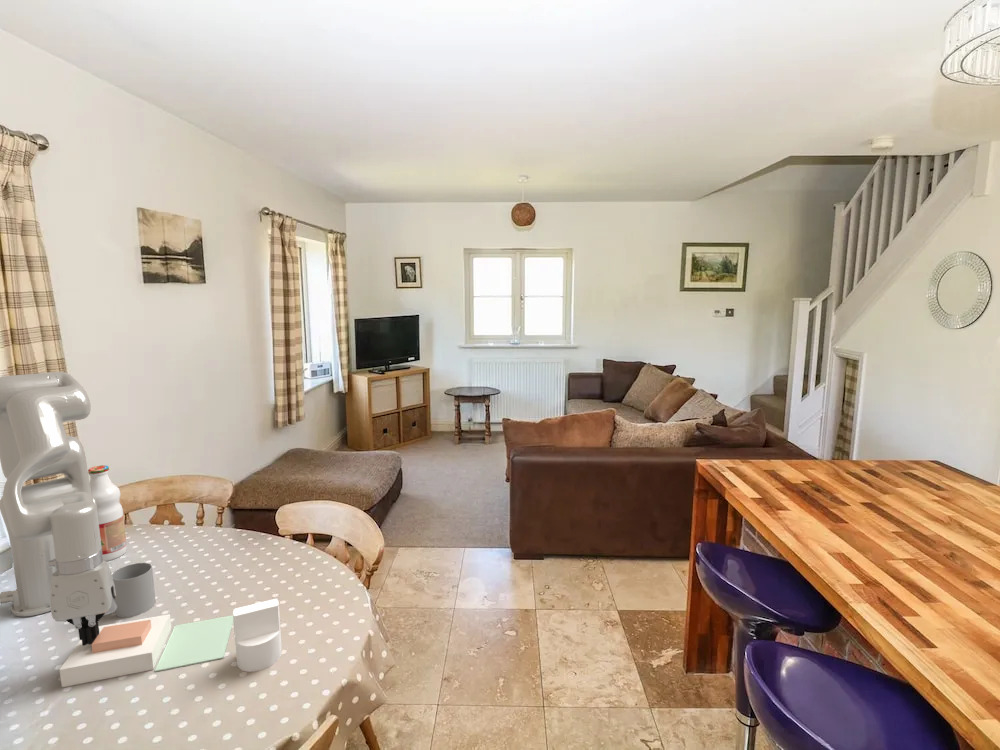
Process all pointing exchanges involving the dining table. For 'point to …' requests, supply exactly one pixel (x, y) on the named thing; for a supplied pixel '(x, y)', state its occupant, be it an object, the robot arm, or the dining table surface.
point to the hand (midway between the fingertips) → (90, 640)
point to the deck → (116, 656)
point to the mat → (196, 643)
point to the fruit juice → (108, 513)
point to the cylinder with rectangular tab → (257, 635)
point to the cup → (134, 589)
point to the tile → (121, 636)
